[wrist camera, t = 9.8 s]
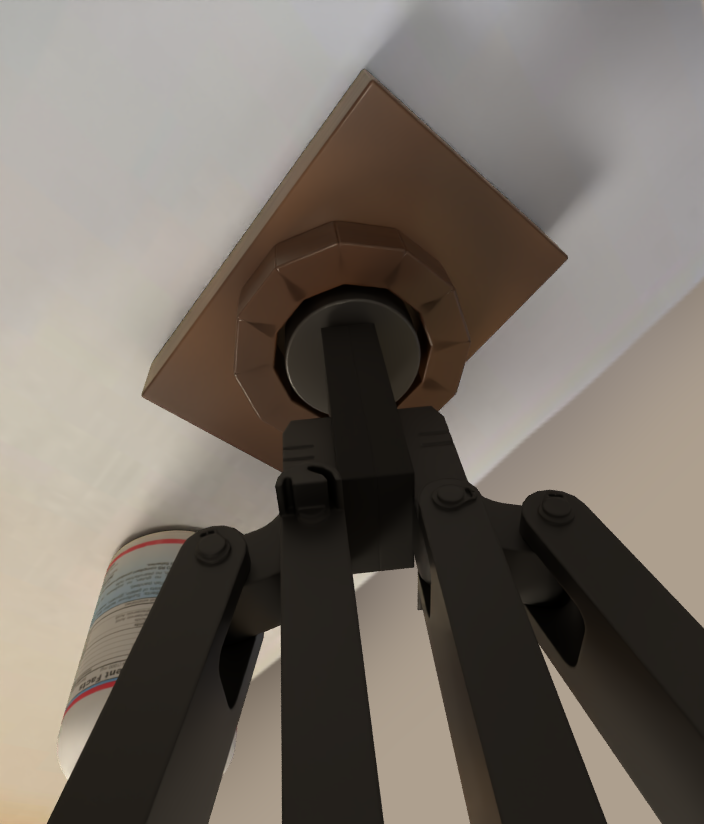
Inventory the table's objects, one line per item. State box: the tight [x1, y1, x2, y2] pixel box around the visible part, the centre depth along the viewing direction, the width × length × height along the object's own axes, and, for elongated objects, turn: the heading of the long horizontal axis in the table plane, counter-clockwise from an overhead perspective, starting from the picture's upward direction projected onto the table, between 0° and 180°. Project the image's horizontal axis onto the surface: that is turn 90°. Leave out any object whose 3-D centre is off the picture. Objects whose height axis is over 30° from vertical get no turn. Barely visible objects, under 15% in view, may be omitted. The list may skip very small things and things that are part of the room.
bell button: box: [285, 284, 421, 414], centre depth 20 cm, size 4×4×2 cm
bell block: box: [142, 69, 568, 473], centre depth 21 cm, size 12×8×4 cm, turn 141°
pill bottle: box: [57, 530, 237, 780], centre depth 24 cm, size 6×6×11 cm
